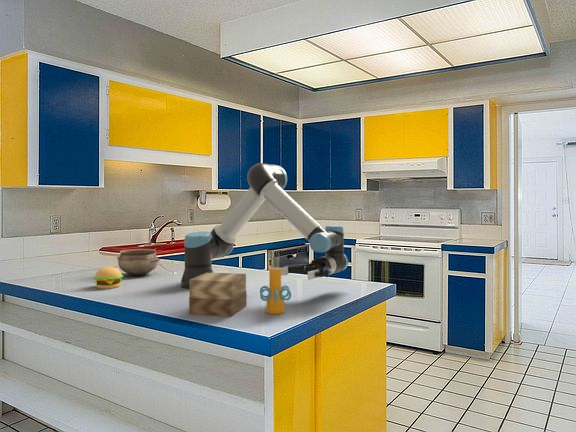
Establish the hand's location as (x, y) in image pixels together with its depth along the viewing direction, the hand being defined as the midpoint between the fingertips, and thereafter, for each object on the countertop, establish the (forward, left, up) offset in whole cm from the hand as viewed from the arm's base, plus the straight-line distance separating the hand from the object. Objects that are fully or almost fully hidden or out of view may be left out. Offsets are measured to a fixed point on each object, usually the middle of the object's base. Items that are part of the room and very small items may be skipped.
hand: (292, 274), depth 163 cm
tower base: (-24, -11, -12) cm, 29 cm away
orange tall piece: (-4, -9, -12) cm, 15 cm away
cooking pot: (-91, +44, -12) cm, 101 cm away
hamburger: (-87, +15, -12) cm, 89 cm away
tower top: (-24, -11, -6) cm, 27 cm away
